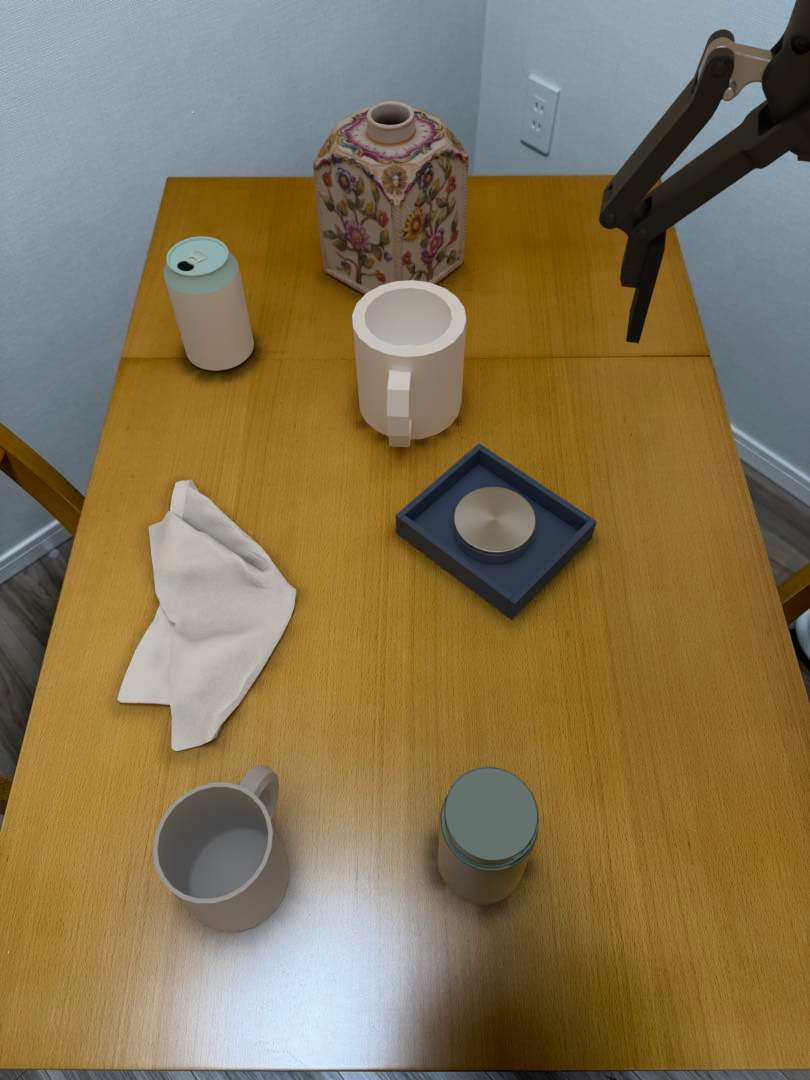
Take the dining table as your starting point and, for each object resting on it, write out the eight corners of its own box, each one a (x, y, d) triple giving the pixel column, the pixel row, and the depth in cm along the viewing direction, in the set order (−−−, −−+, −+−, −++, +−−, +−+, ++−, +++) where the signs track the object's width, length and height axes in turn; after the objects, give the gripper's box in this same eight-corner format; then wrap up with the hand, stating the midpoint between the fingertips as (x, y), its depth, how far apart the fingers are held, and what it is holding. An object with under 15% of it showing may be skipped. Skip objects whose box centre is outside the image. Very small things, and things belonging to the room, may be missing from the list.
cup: (165, 908, 58) (129, 874, 51) (236, 775, 63) (213, 727, 56) (260, 952, 56) (236, 924, 49) (325, 811, 62) (312, 767, 54)
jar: (541, 857, 60) (562, 809, 51) (486, 925, 57) (498, 887, 49) (475, 799, 62) (484, 744, 54) (419, 862, 60) (420, 815, 51)
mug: (458, 469, 80) (463, 387, 71) (349, 464, 80) (341, 382, 72) (463, 367, 88) (468, 282, 79) (363, 363, 88) (358, 278, 79)
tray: (592, 538, 75) (597, 521, 73) (512, 620, 71) (514, 604, 68) (477, 461, 80) (478, 442, 78) (395, 532, 76) (395, 515, 74)
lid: (495, 486, 78) (496, 473, 76) (550, 534, 75) (553, 521, 73) (436, 527, 75) (437, 515, 74) (491, 578, 72) (493, 566, 71)
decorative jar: (466, 264, 97) (475, 108, 82) (399, 317, 92) (396, 160, 77) (387, 224, 102) (382, 68, 87) (319, 272, 97) (302, 116, 82)
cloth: (283, 751, 64) (279, 739, 62) (101, 752, 64) (91, 740, 63) (306, 481, 79) (303, 465, 77) (158, 482, 79) (152, 467, 78)
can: (250, 375, 87) (229, 279, 78) (182, 375, 88) (152, 278, 78) (258, 328, 91) (239, 231, 82) (193, 328, 92) (166, 231, 82)
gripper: (1251, -88, 33) (966, 331, 51) (609, -131, 37) (548, 275, 54) (1323, -2, 29) (986, 423, 47) (591, -60, 33) (531, 356, 50)
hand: (750, 344), depth 51 cm, fingers open, 13 cm apart
